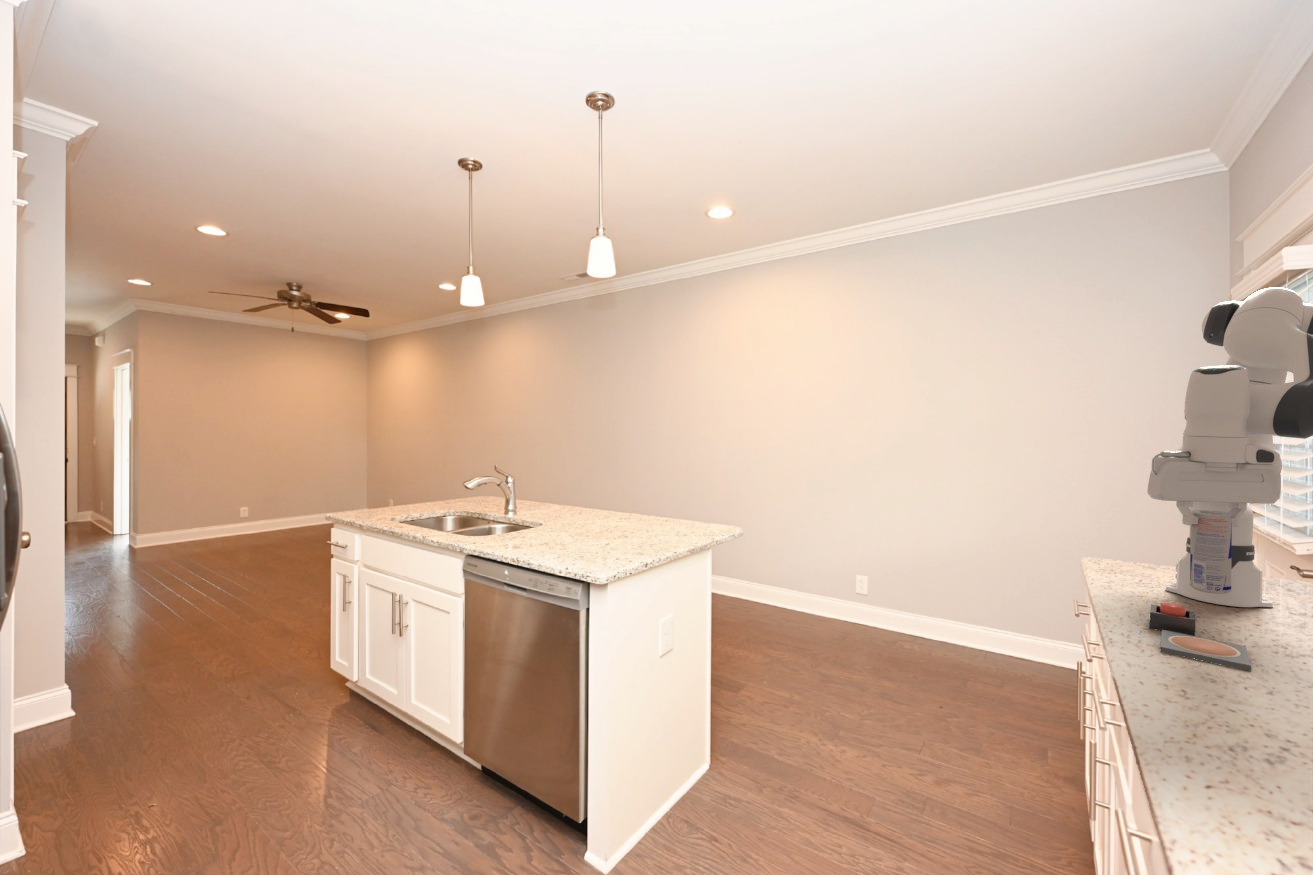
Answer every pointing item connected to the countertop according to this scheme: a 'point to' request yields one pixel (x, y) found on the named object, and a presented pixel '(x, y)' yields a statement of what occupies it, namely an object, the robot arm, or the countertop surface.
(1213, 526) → the beverage can
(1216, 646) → the picture board
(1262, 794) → the countertop surface
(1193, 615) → the button housing
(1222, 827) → the countertop surface
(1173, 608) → the button
